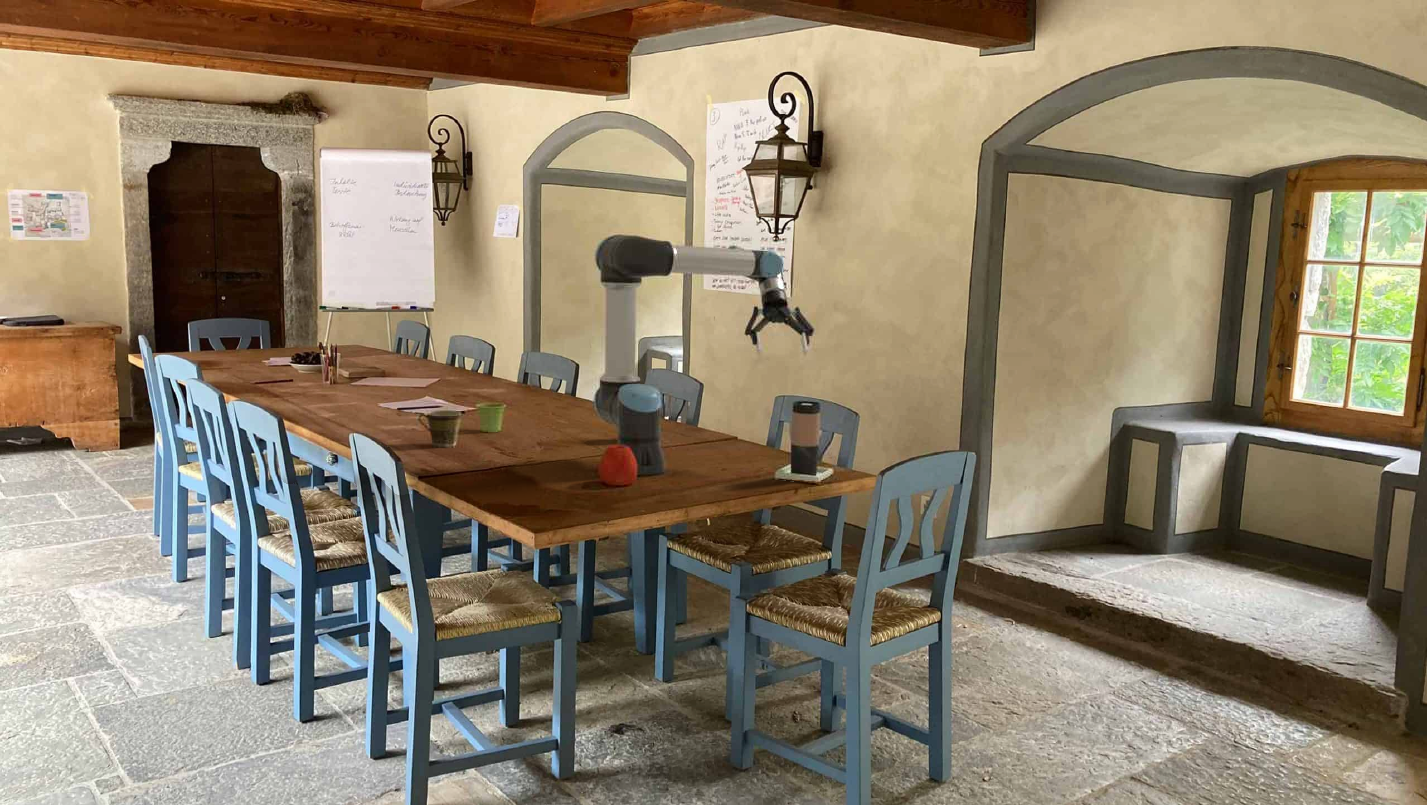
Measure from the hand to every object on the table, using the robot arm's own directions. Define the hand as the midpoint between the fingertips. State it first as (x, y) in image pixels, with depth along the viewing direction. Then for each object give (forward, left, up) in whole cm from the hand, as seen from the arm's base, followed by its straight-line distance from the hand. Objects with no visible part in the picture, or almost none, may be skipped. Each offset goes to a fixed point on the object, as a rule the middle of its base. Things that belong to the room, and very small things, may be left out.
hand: (782, 352), depth 316 cm
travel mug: (-13, -12, -32) cm, 37 cm away
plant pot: (0, +100, -33) cm, 106 cm away
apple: (-45, +28, -33) cm, 63 cm away
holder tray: (-13, -12, -33) cm, 37 cm away
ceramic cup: (-28, +99, -33) cm, 108 cm away
